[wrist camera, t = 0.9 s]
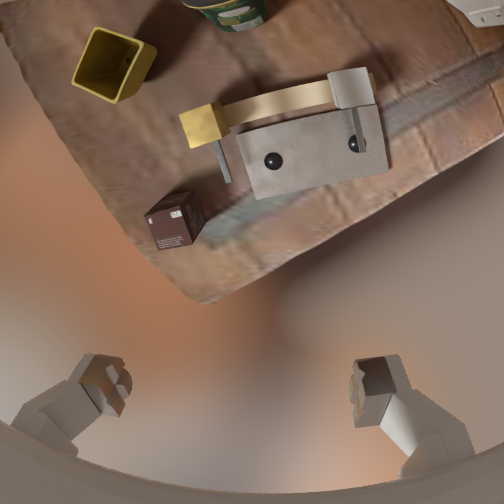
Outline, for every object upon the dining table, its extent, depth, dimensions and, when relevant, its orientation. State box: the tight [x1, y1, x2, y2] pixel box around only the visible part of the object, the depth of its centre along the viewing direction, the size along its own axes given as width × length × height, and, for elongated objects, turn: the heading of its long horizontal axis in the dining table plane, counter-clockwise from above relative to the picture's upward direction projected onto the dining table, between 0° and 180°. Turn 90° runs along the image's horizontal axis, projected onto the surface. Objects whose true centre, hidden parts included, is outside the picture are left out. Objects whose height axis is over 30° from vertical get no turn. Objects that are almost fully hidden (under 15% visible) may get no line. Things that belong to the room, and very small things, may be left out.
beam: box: [222, 67, 378, 153], centre depth 34 cm, size 24×11×8 cm, turn 107°
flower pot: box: [72, 26, 157, 104], centre depth 31 cm, size 9×9×9 cm
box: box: [144, 190, 206, 250], centre depth 44 cm, size 6×6×7 cm
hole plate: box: [236, 104, 389, 200], centre depth 39 cm, size 20×10×1 cm, turn 107°
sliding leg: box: [179, 102, 233, 183], centre depth 35 cm, size 4×11×5 cm, turn 17°
